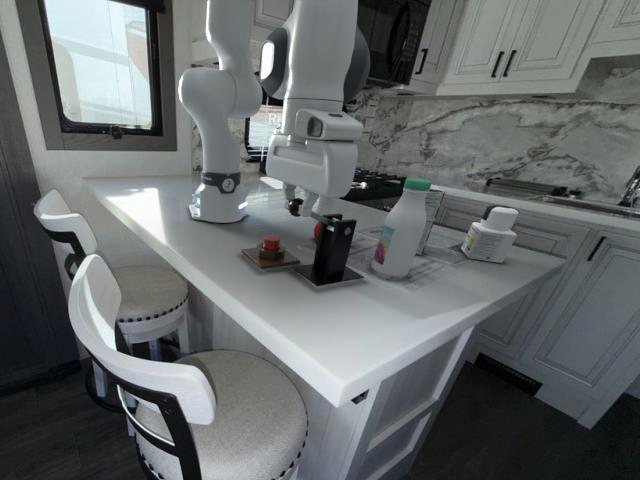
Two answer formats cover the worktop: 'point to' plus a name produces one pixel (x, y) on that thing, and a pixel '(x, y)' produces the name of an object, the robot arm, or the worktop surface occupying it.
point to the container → (491, 235)
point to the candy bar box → (430, 213)
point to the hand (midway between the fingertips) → (296, 212)
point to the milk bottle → (402, 230)
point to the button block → (270, 257)
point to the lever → (294, 212)
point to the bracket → (331, 254)
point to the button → (271, 243)
